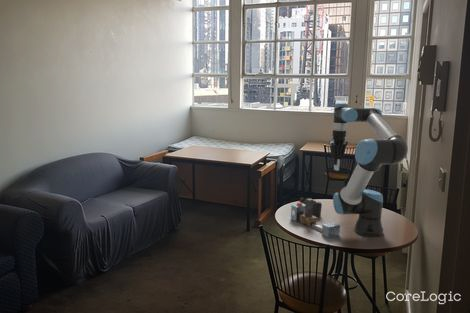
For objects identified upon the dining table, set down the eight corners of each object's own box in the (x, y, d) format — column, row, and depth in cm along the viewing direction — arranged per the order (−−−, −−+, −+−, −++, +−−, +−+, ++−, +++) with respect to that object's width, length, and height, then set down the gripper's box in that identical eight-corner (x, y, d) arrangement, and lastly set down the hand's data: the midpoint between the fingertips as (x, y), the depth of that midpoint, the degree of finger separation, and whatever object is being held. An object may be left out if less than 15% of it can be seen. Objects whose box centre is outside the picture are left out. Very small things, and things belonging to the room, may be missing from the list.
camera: (325, 213, 255) (326, 198, 253) (318, 218, 246) (319, 202, 244) (304, 209, 262) (305, 194, 260) (297, 213, 253) (297, 198, 251)
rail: (339, 235, 219) (340, 219, 217) (327, 238, 215) (328, 222, 213) (301, 217, 246) (302, 203, 244) (290, 219, 242) (291, 205, 240)
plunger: (302, 210, 240) (303, 203, 239) (298, 211, 239) (299, 203, 238) (299, 209, 243) (300, 202, 242) (295, 209, 241) (296, 202, 240)
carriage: (316, 225, 233) (318, 200, 230) (308, 226, 230) (310, 201, 227) (307, 220, 239) (309, 196, 237) (299, 222, 237) (301, 198, 234)
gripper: (343, 128, 240) (340, 167, 245) (326, 129, 234) (323, 169, 238) (352, 130, 234) (349, 170, 238) (335, 131, 227) (332, 172, 232)
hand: (336, 169), depth 238 cm, fingers closed
